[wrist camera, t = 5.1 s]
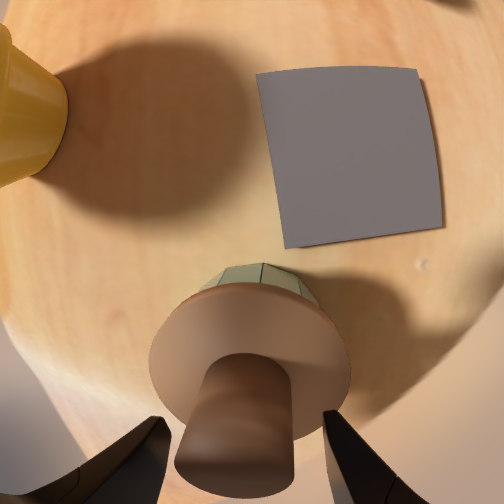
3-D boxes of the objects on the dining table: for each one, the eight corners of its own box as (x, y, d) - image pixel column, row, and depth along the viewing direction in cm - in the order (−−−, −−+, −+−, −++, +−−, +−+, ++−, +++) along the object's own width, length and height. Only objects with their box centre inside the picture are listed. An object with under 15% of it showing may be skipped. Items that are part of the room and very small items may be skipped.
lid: (342, 267, 9) (398, 346, 4) (343, 421, 11) (361, 508, 6) (134, 293, 10) (54, 363, 5) (187, 431, 12) (159, 509, 7)
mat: (410, 73, 11) (416, 69, 10) (434, 224, 12) (442, 226, 12) (256, 80, 12) (255, 74, 11) (284, 245, 13) (285, 249, 13)
